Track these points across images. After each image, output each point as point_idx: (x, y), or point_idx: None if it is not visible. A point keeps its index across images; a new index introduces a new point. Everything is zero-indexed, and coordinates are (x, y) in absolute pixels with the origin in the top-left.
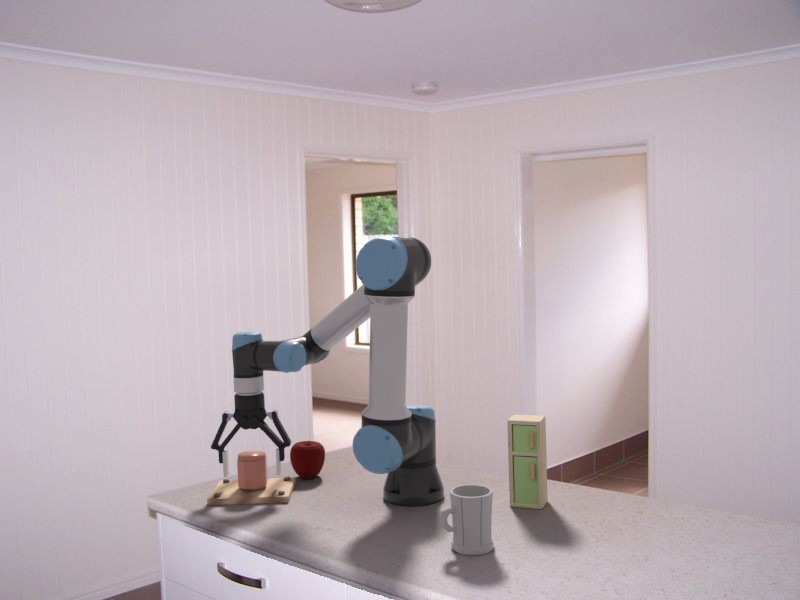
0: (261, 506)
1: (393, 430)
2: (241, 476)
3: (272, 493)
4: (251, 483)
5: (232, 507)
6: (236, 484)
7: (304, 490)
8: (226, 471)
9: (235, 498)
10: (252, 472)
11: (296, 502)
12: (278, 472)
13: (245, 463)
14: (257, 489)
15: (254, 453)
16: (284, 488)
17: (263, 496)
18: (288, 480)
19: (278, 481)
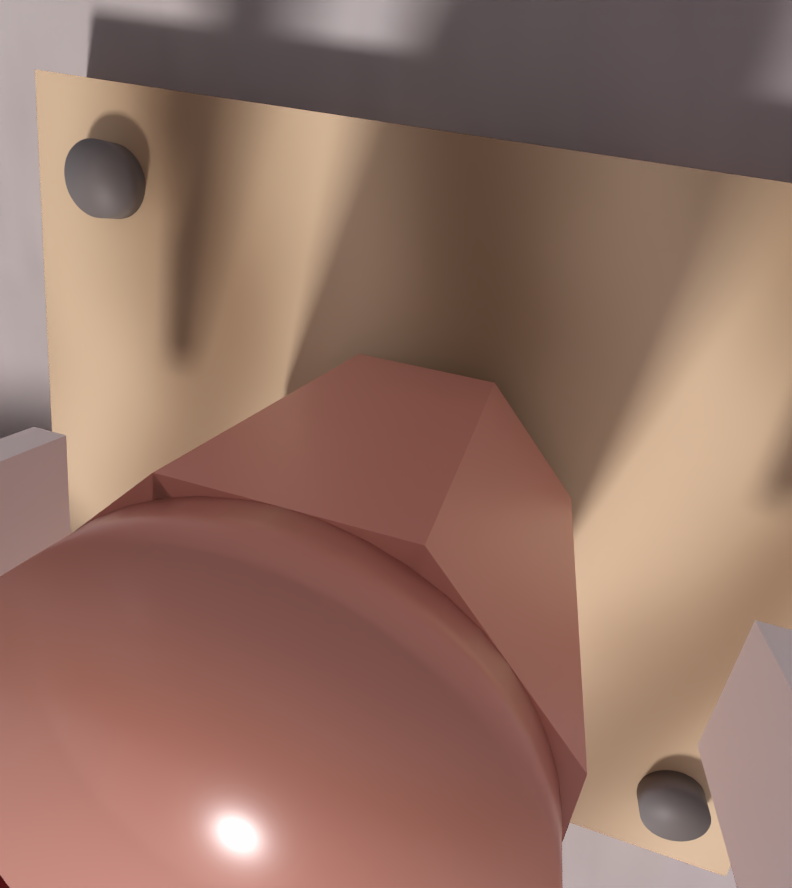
0: (342, 4)
1: None
2: (522, 496)
3: (204, 232)
4: (398, 378)
5: (687, 46)
6: None
7: (8, 411)
8: (781, 686)
9: (640, 163)
10: (327, 420)
11: (18, 66)
12: (18, 439)
13: (397, 515)
14: None
15: (160, 867)
16: (108, 372)
17: (294, 145)
18: None
19: None
